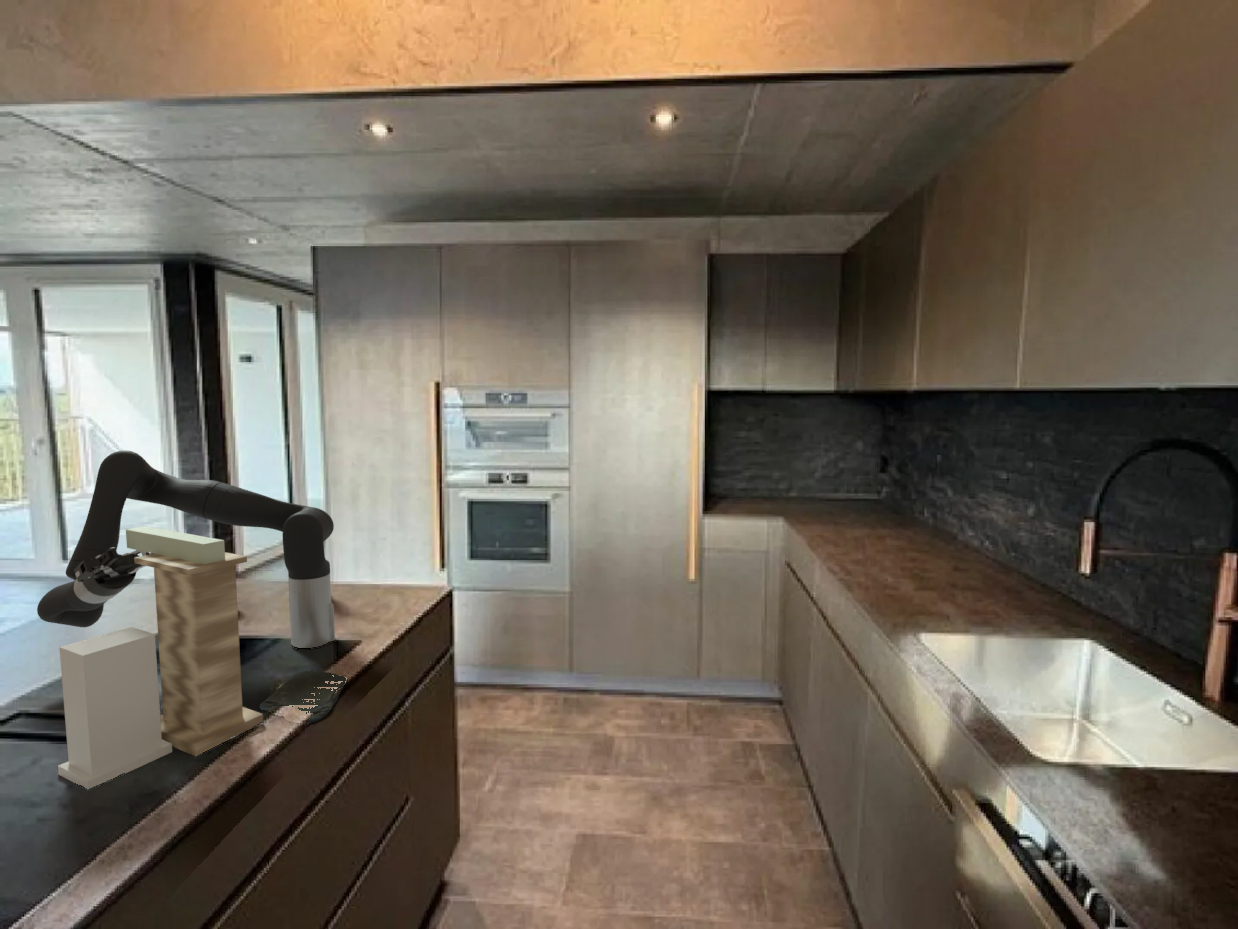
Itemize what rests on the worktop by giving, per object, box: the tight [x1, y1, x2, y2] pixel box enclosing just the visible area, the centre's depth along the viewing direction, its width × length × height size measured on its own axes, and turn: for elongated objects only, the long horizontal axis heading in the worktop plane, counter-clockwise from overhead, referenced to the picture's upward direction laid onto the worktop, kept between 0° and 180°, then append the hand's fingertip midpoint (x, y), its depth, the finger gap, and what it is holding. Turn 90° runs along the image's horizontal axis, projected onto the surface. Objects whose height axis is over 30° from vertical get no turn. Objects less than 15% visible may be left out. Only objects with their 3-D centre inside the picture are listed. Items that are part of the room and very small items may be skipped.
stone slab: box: [259, 669, 346, 726], centre depth 127 cm, size 24×17×2 cm
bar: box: [125, 525, 226, 564], centre depth 114 cm, size 24×4×4 cm, turn 64°
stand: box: [134, 551, 264, 757], centre depth 113 cm, size 17×12×32 cm
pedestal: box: [57, 626, 173, 789], centre depth 103 cm, size 9×12×21 cm
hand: (141, 547), depth 119 cm, fingers open, 8 cm apart
